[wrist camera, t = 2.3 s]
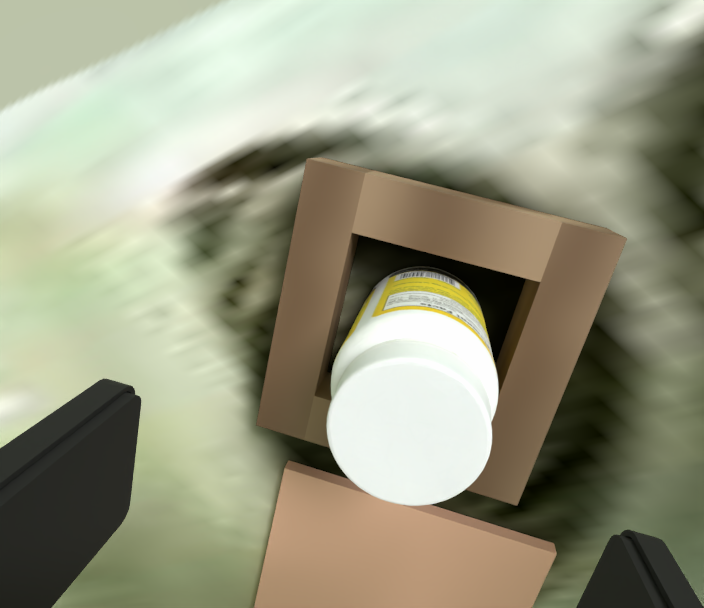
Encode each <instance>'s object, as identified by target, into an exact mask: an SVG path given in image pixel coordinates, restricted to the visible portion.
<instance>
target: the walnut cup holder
mask: <svg viewBox="0 0 704 608" xmlns="http://www.w3.org/2000/svg"><path fill="white" fill-rule="evenodd" d="M359 235H362V236H366V237H370V238H374V239H378V240H381V241H385V242H389V243H393V244H397V245H400V246H404V247H408V248H412V249H416V250H419V251H423V252H427V253H431V254H435V255H439V256H442V257H446V258H450V259H454V260H458V261H461V262H465V263H469V264H473V265H477V266H480V267H484V268H488V269H492V270H496V271H499V272H503V273H507V274H511V275H515V276H518V277H522V278H526V280H525V283H524V286H523V289H522V292H521V295H520V297H519V300H518V303H517V306H516V309H515V311H514V314H513V317H512V320H511V323H510V325H509V328H508V331H507V334H506V337H505V340H504V342H503V345H502V348H501V351H500V354H499V356H498V359H497V362H496V365H495V367H496V371H497V377H498V388H499V393H498V403H497V408H496V412H495V414H494V417H493V420H492V422H491V425H492V445H491V451H490V455H489V458H488V460H487V463H486V465H485V467H484V469H483V471H482V472H481V474H480V475H479V476H478V478H477V479H476V480H475V481H474V482H473V483H472V484H471V485H470V486H469V487H468V488H466V489H465V490H468V491H471V492H474V493H478V494H481V495H484V496H487V497H491V498H494V499H497V500H500V501H504V502H507V503H510V504H513V505H518V502H519V500H520V497H521V495H522V492H523V490H524V488H525V485H526V483H527V480H528V478H529V475H530V473H531V471H532V468H533V466H534V463H535V461H536V458H537V456H538V454H539V451H540V449H541V446H542V444H543V442H544V439H545V437H546V434H547V432H548V429H549V427H550V425H551V422H552V420H553V417H554V415H555V412H556V410H557V408H558V405H559V403H560V400H561V398H562V395H563V393H564V391H565V388H566V386H567V383H568V381H569V378H570V376H571V374H572V371H573V369H574V366H575V364H576V362H577V359H578V357H579V354H580V352H581V349H582V347H583V345H584V342H585V340H586V337H587V335H588V332H589V330H590V328H591V325H592V323H593V320H594V318H595V315H596V313H597V311H598V308H599V306H600V303H601V301H602V299H603V296H604V294H605V291H606V289H607V286H608V284H609V282H610V279H611V277H612V274H613V272H614V269H615V267H616V265H617V262H618V260H619V257H620V255H621V252H622V250H623V248H624V245H625V243H626V240H627V238H625V237H623V236H621V235H619V234H617V233H615V232H613V231H611V230H609V229H607V228H604V227H600V226H596V225H592V224H588V223H584V222H580V221H575V220H571V219H567V218H563V217H559V216H555V215H551V214H547V213H543V212H539V211H535V210H531V209H527V208H523V207H519V206H515V205H511V204H507V203H503V202H499V201H495V200H491V199H487V198H483V197H479V196H475V195H471V194H467V193H463V192H459V191H455V190H451V189H447V188H443V187H439V186H435V185H431V184H427V183H423V182H419V181H415V180H411V179H407V178H403V177H399V176H395V175H391V174H386V173H382V172H378V171H374V170H370V169H366V168H362V167H358V166H354V165H350V164H346V163H342V162H338V161H334V160H330V159H326V158H309V159H307V160H306V165H305V171H304V176H303V181H302V187H301V192H300V197H299V202H298V208H297V213H296V218H295V223H294V229H293V234H292V239H291V244H290V250H289V255H288V260H287V265H286V271H285V276H284V281H283V286H282V292H281V297H280V302H279V307H278V313H277V318H276V323H275V328H274V334H273V339H272V344H271V350H270V355H269V360H268V365H267V371H266V376H265V381H264V386H263V392H262V397H261V402H260V407H259V413H258V418H257V423H256V425H257V426H260V427H264V428H267V429H270V430H273V431H277V432H280V433H283V434H286V435H290V436H293V437H296V438H299V439H302V440H306V441H309V442H312V443H315V444H319V445H322V446H325V447H328V448H330V446H329V442H328V438H327V429H326V423H327V414H328V410H329V406H330V403H331V400H332V397H331V375H332V373H329V372H327V371H328V367H329V362H330V358H331V354H332V350H333V345H334V341H335V337H336V333H337V328H338V324H339V320H340V315H341V311H342V307H343V303H344V298H345V294H346V290H347V286H348V281H349V277H350V273H351V269H352V264H353V260H354V256H355V252H356V247H357V243H358V239H359Z"/></svg>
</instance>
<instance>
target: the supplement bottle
mask: <svg viewBox="0 0 704 608" xmlns="http://www.w3.org/2000/svg"><path fill="white" fill-rule="evenodd" d="M498 393H499V388H498V377H497V371H496V367H495V363H494V359H493V354H492V350H491V346H490V342H489V337H488V333H487V330H486V325H485V321H484V317H483V313H482V310H481V307H480V305H479V302H478V300H477V298H476V297H475V295H474V293H473V292H472V291H471V290H470V288H469V287H468V286H467V285H466V284H465V283H464V282H463V281H461V280H460V279H459V278H457V277H456V276H454V275H452V274H450V273H449V272H446V271H444V270H441V269H438V268H433V267H425V266H417V267H409V268H405V269H401V270H399V271H396V272H394V273H392V274H390V275H388V276H387V277H385V278H384V279H383V280H382V281H380V282H379V283H378V284H377V285H376V286H375V287H374V288H373V290H372V291H371V292H370V294H369V295H368V297H367V298H366V300H365V302H364V304H363V306H362V308H361V310H360V312H359V314H358V316H357V318H356V320H355V322H354V324H353V326H352V328H351V330H350V332H349V334H348V336H347V337H346V339H345V341H344V343H343V345H342V346H341V348H340V350H339V352H338V354H337V356H336V358H335V361H334V364H333V368H332V375H331V397H332V400H331V403H330V406H329V410H328V414H327V423H326V429H327V438H328V442H329V446H330V449H331V452H332V454H333V456H334V458H335V460H336V462H337V464H338V465H339V467H340V468H341V470H342V471H343V472H344V473H345V475H346V476H347V477H348V478H349V479H350V480H351V481H352V482H353V483H354V484H356V485H357V486H358V487H359V488H361V489H362V490H364V491H365V492H367V493H369V494H370V495H372V496H374V497H376V498H379V499H381V500H384V501H387V502H391V503H395V504H401V505H408V506H421V505H430V504H435V503H438V502H442V501H445V500H448V499H450V498H452V497H454V496H456V495H458V494H459V493H461V492H463V491H464V490H465V489H466V488H468V487H469V486H470V485H471V484H472V483H473V482H474V481H475V480H476V479H477V478H478V476H479V475H480V474H481V472H482V471H483V469H484V467H485V465H486V463H487V460H488V458H489V455H490V451H491V445H492V425H491V422H492V420H493V417H494V414H495V412H496V408H497V403H498Z"/></svg>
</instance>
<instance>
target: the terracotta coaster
mask: <svg viewBox="0 0 704 608" xmlns="http://www.w3.org/2000/svg"><path fill="white" fill-rule="evenodd" d="M556 555H557V553H556V549H555V545H554V543H551V542H548V541H545V540H542V539H538V538H535V537H532V536H529V535H526V534H522V533H519V532H516V531H513V530H510V529H506V528H503V527H500V526H497V525H494V524H490V523H487V522H484V521H481V520H478V519H475V518H471V517H468V516H465V515H462V514H459V513H455V512H452V511H449V510H446V509H443V508H439V507H436V506H433V505H421V506H408V505H401V504H395V503H391V502H387V501H384V500H381V499H379V498H376V497H374V496H372V495H370V494H369V493H367V492H365V491H364V490H362V489H361V488H359V487H358V486H357V485H356V484H354V483H353V482H352V481H351V480H350V479H347V478H344V477H341V476H337V475H334V474H331V473H328V472H325V471H321V470H318V469H315V468H312V467H309V466H305V465H302V464H299V463H296V462H293V461H289V460H288V462H287V464H286V466H285V468H284V472H283V477H282V482H281V486H280V491H279V495H278V500H277V504H276V509H275V514H274V518H273V523H272V527H271V532H270V536H269V541H268V546H267V550H266V555H265V559H264V564H263V568H262V573H261V578H260V582H259V587H258V591H257V596H256V600H255V605H254V608H532V606H533V604H534V602H535V600H536V598H537V596H538V594H539V591H540V589H541V587H542V585H543V583H544V581H545V578H546V576H547V574H548V572H549V570H550V568H551V565H552V563H553V561H554V559H555V557H556Z"/></svg>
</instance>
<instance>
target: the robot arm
mask: <svg viewBox="0 0 704 608" xmlns="http://www.w3.org/2000/svg"><path fill="white" fill-rule="evenodd" d="M140 409H141V398H140V397H139V396H137V395H135V390H134V388H133V387H132V386H130V385H126V384H123V383H119V382H116V381H112V380H109V379H102V380H100V381H98V382H97V383H95V384H94V385H92V386H91V387H89V388H88V389H87V390H85V391H84V392H82V393H81V394H79V395H78V396H76V397H75V398H73V399H72V400H70V401H69V402H68V403H66V404H65V405H63V406H62V407H60V408H59V409H57V410H56V411H54V412H53V413H51V414H50V415H49V416H47V417H46V418H44V419H43V420H41V421H40V422H38V423H37V424H35V425H34V426H32V427H31V428H30V429H28V430H27V431H25V432H24V433H22V434H21V435H19V436H18V437H16V438H15V439H13V440H12V441H11V442H9V443H8V444H6V445H5V446H3V447H2V448H0V608H51V607H52V606H53V605H54V604H55V603H56V601H57V600H58V599H59V598H60V597H61V595H62V594H63V593H64V592H65V591H66V589H67V588H68V587H69V586H70V585H71V584H72V582H73V581H74V580H75V579H76V578H77V576H78V575H79V574H80V573H81V572H82V570H83V569H84V568H85V567H86V566H87V564H88V563H89V562H90V561H91V560H92V558H93V557H94V556H95V555H96V554H97V552H98V551H99V550H100V549H101V548H102V546H103V545H104V544H105V543H106V542H107V540H108V539H109V538H110V537H111V536H112V534H113V533H114V532H115V531H116V530H117V528H118V527H119V526H120V525H121V523H122V522H123V520H124V519H125V517H126V515H127V512H128V510H129V506H130V499H131V490H132V481H133V472H134V463H135V454H136V445H137V436H138V427H139V418H140ZM577 608H703V606H702V604H701V603H700V601H699V599H698V598H697V596H696V594H695V593H694V591H693V589H692V588H691V586H690V584H689V583H688V581H687V579H686V578H685V576H684V574H683V573H682V571H681V569H680V568H679V566H678V564H677V563H676V561H675V559H674V558H673V556H672V554H671V553H670V551H669V549H668V548H667V546H666V545H665V543H664V542H663V541H662V540H660V539H658V538H655V537H652V536H648V535H645V534H642V533H638V532H635V531H631V530H625V531H624V532H622V533H621V535H620V536H619V535H613V536H612V537H611V538H610V540H609V542H608V544H607V546H606V548H605V550H604V552H603V554H602V556H601V558H600V560H599V562H598V564H597V566H596V568H595V570H594V573H593V575H592V577H591V579H590V581H589V583H588V585H587V587H586V589H585V591H584V593H583V595H582V597H581V599H580V601H579V603H578V605H577Z"/></svg>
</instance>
